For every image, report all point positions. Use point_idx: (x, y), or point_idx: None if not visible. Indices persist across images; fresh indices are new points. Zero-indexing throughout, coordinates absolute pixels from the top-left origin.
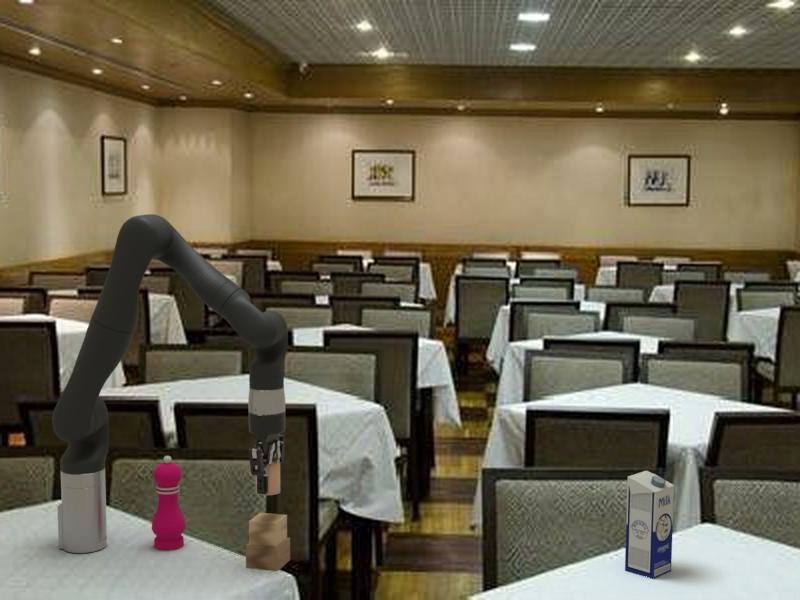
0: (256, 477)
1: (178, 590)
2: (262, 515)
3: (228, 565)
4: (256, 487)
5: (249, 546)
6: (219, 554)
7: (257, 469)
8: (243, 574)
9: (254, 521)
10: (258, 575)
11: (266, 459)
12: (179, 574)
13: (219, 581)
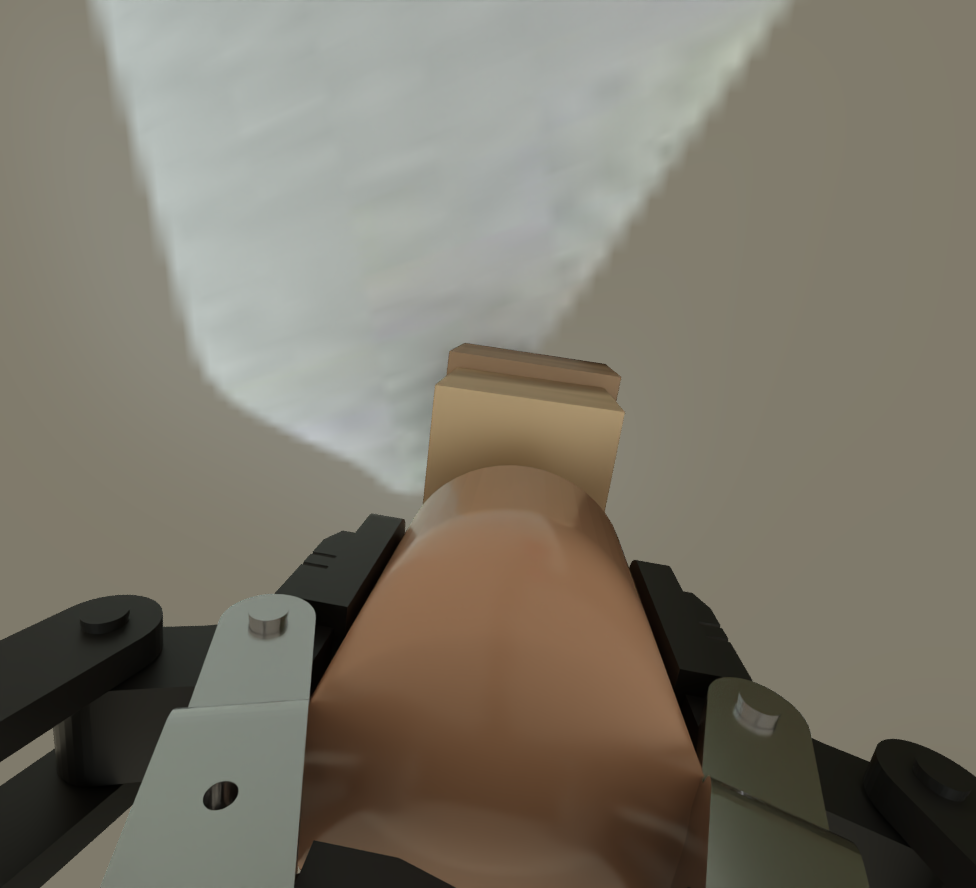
0: (413, 552)
1: (165, 134)
2: (562, 442)
3: (479, 259)
4: (440, 501)
5: (448, 370)
6: (616, 168)
7: (75, 733)
8: (389, 353)
9: (433, 421)
10: (391, 414)
11: (694, 802)
12: (333, 63)
13: (297, 278)
